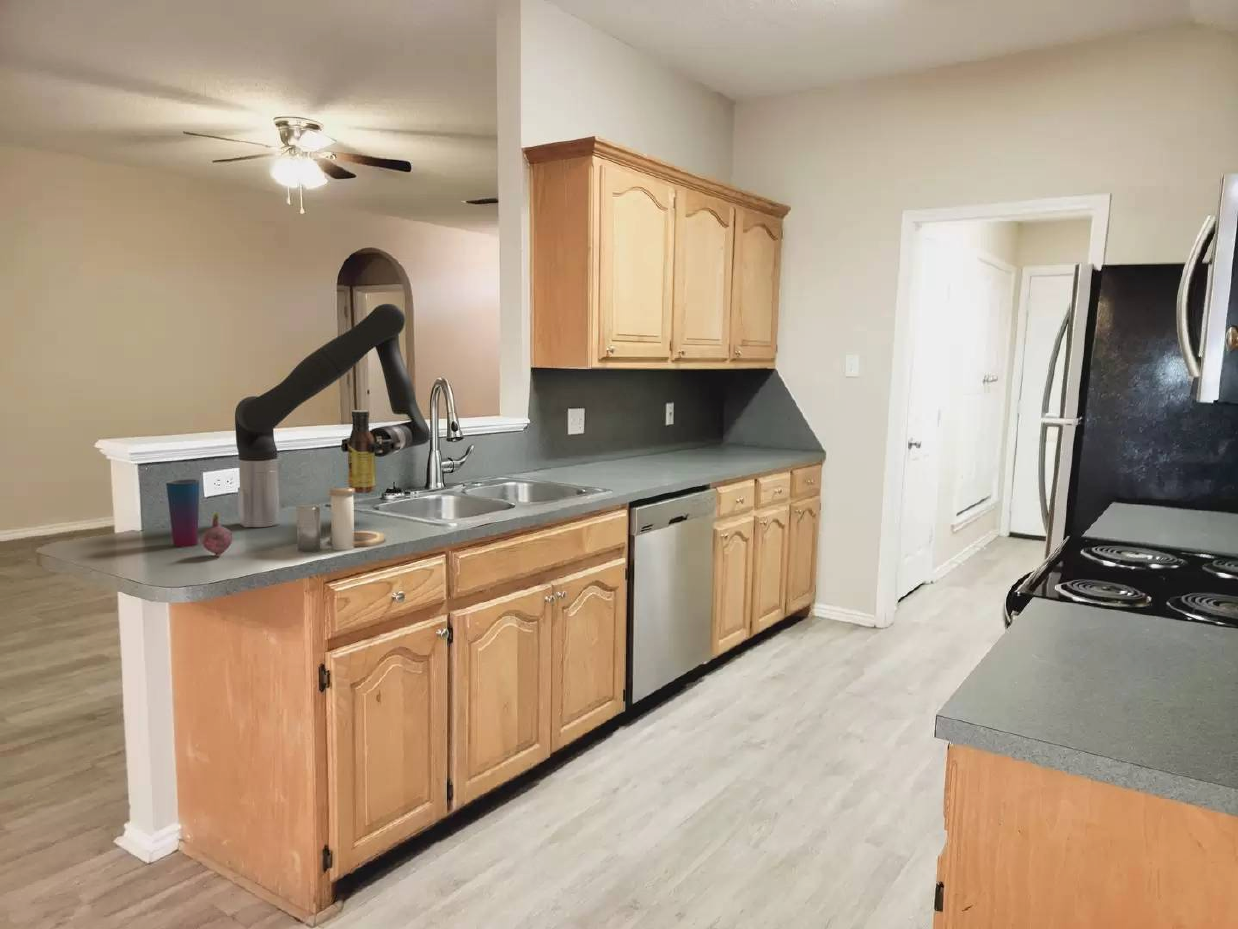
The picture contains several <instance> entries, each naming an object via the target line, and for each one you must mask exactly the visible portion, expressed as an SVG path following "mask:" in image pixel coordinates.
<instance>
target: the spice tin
mask: <svg viewBox="0 0 1238 929" xmlns="http://www.w3.org/2000/svg"><path fill="white" fill-rule="evenodd" d="M320 509H321V507H320V506H319V505H311V504H310V505H299V506H297V507H296V533H297V534H296V539H297V540H296V541H297V552H298V553H302V552H311V553H317V552H320V551H321V549H322V545H321V544H322V543H321V542H322V541H321V510H320Z"/></svg>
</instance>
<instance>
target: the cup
mask: <svg viewBox="0 0 1238 929" xmlns="http://www.w3.org/2000/svg"><path fill="white" fill-rule="evenodd" d="M165 483H166V491H167V492H166V493H167V501H168V502H167V503H168V509H169V518H170V527H171V535H172V541H173V542H172V544H173V547H175V546H179V547H178V548H185V547H184V546H190V547H194V546H196V545H198V544H199V511H200V508H199V507H200V506H199V505H200V502H199V501H200V479H196V478H177V479H176V478H175V479H171V480H170V479H169V480H167V481H166V482H165ZM182 546H183V547H182Z"/></svg>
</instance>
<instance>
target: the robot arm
mask: <svg viewBox="0 0 1238 929" xmlns="http://www.w3.org/2000/svg"><path fill="white" fill-rule="evenodd" d="M405 324H406V317H405V314H404V311H403V310H402V308H400V307H399V306H397V305H396V304H393V303H383V304H379V305H378V306H376V307H375V308H374V309H373V310H372V311H370V312H369V314H367V316H365V318H363V320H361V321H360V322H358V323H357V324H356V325H355V326H353V327H352V328H351V329H349V330H348V331H346V332H343V333H342V334H340V335H338V336H337V337H335V338H333V339H332V340H330V341H328V342H327V343H325V344H324V345H322V346H320V347H319V348H318V349H316V350H315V351H313V352H312V353H310V354H309V355H308V356H306V357H305V358H304V359H303V360H301V361H300V362H299V363H298V364H297V365H296V367H295V368H294V369H293V370H292V371H291V372H290V373H289V374H288V376H286V377H285V379H284V380H282V381H281V382H280V383H278V384H277V385H276V386H274V387H272V388H271V389H270V390H268V391H266V392H264V393H263V394H261V395H259V396H256V395H255V396H254V395H253V396H252V395H251V396H247V397H245V398H242V399H241V401H239V402H238V403H237V405H236V408H235V411H234V424H235V425H234V427H235V443H236V444H235V445H236V448H237V452H238V467H239V468H238V472H239V474H238V475H239V487H237V500H238V502H237V503H238V504H237V505H238V508H237V509H238V524H239V525H241V526H242V527H243V528H266V527H272V526H277V525H279V524H280V508H279V507H280V502H279V501H280V500H279V498H280V497H279V496H280V495H279V471H278V470H279V469H278V465H279V464H278V461H279V459H278V447H277V446H276V442H275V435H274V429H275V428H276V427H277V426H278V425H279V424H280V423H281V422H283V420H284V419H285V418H286V417H288V416H289V415H290V414H291V413H292V412H293V411H294V410H296V409H297V408H298V407H299V406H301V405H302V404H303V403H305V402H306V401H308V400H310V399H311V398H314V396H317V395H318V394H319V393H321V392H322V391H323V390H325V389H326V388H328V387H330V386H331V385H332V384H333V383H335V382H337V381H338V380H339V379H340V378H342V377H343V376H344V375H345V374H346V373H348V372H349V371H350V370H351V369H352V368H353V367H355V366H356V365H357V363H358V362H360V361H361V359H363V357H364V356H365V355H366V354H369V352H370V351H372V350H373V349H375V350H376V354H377V355H378V359H379V361H380V365H381V368H382V372H383V379H384V381H385V386H386V387H385V388H386V392H387V396H388V401H389V404H390V409H391V412H392V413H393V414H395V415H401V416H402V415H406V416H407V417H408V418H409V419H410V420H409V421H407V422H406V421H405V422H401V423H397V424H392V425H389V424H388V425H383V426H378V427H375V428H372V429H369V431H370V433H371V434H372V435H373V438H374V443H371V444H369V453H375V458H376V457H377V458H384V457H387V456H390V455H392V454H395V453H398V452H400V451H403V450H405V449H407V448H408V449H409V448H412V447H417V446H422V445H425V444H427V443H428V442H429V440H430V437H431V431H430V428H429V425H428V423H427V421H426V420H425V418H424V416H423V414H422V412H421V411H420V410H421V409H420V408H419V405H418V403H417V399H416V395H415V391H414V386H413V382H412V380H411V377H410V374H409V372H408V370H407V367H406V365H405V363H404V360H403V357H402V356H403V355H402V352H401V346H400V336H399V335H400V334H401V333H402V331H403V330H404V327H405ZM349 438H350V437H347V438H343V439H341V446H340V448H341V449H340V450H341V451H342V452H343V453H346V452H347V453H348V441H349Z"/></svg>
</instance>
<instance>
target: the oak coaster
mask: <svg viewBox="0 0 1238 929" xmlns="http://www.w3.org/2000/svg"><path fill="white" fill-rule="evenodd" d="M386 539H387V537H386V534H384V533H382V532H377V531H371V530H370V531H369V530H368V531H365V530H362V531H361V530H358V531H357V530H356V531H355V530H354V548H361V547H360V546H367V547H373V546H377V545H381V544H384V543H385V542H386ZM328 542H330V543H329V544H330V545H331V544H332V535H330V536H329V541H328ZM358 546H359V547H358Z"/></svg>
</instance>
